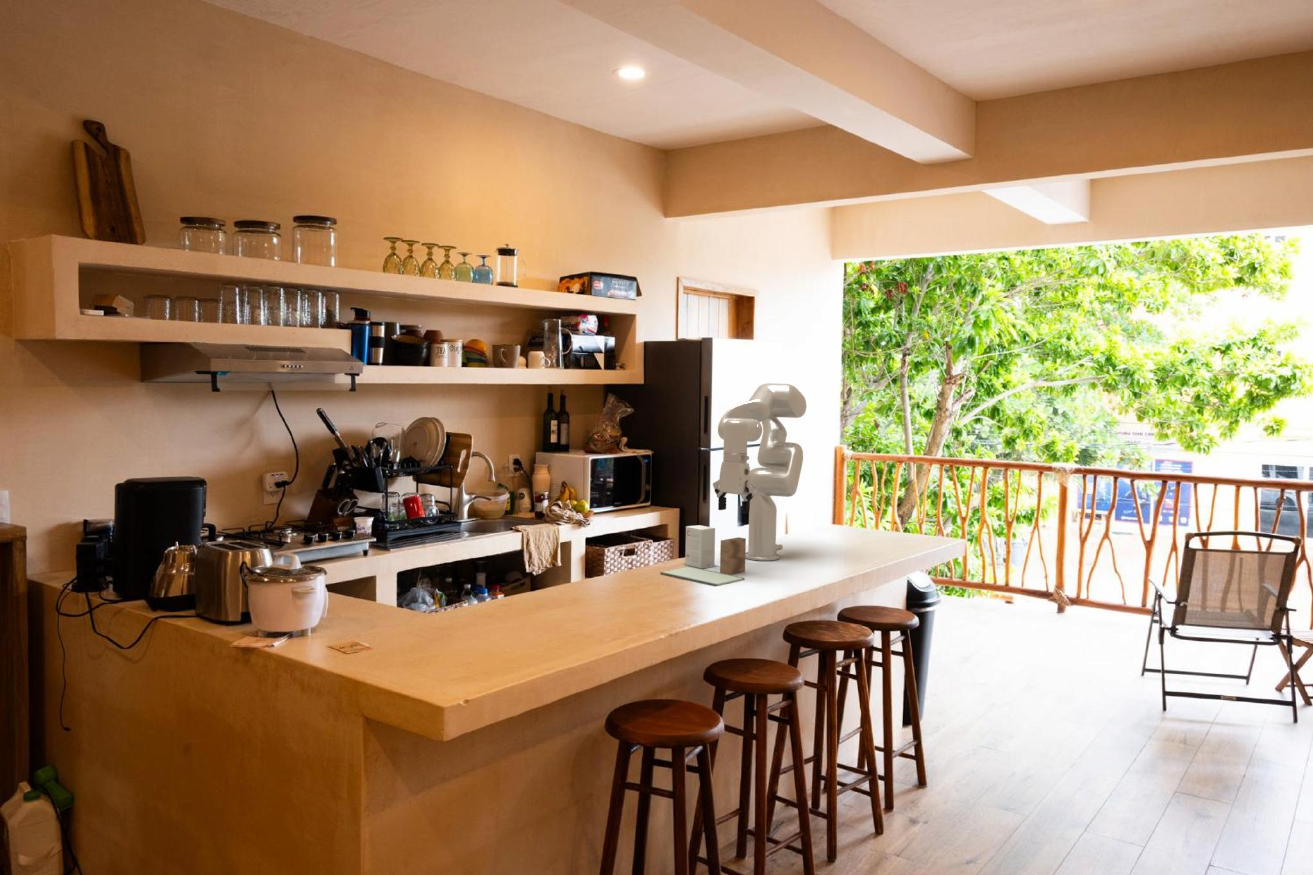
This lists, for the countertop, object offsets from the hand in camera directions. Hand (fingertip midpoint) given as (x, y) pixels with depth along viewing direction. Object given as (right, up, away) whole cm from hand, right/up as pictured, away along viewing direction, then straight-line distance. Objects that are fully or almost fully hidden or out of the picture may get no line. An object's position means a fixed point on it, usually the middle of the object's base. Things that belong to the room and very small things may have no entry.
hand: (733, 511), depth 309 cm
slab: (0, -20, +1) cm, 20 cm away
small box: (-10, -19, +13) cm, 25 cm away
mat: (-10, -20, -5) cm, 23 cm away
